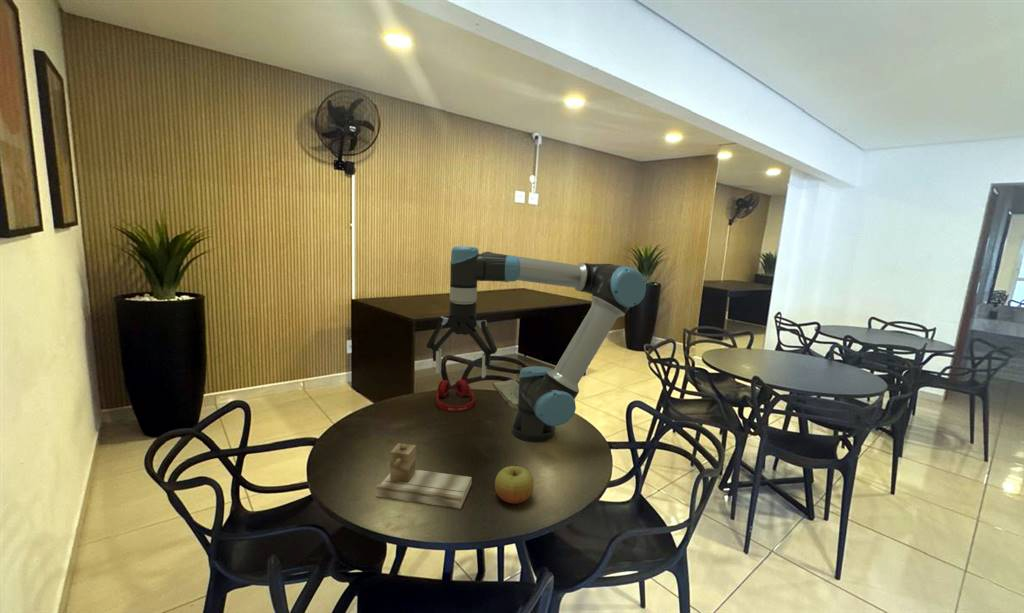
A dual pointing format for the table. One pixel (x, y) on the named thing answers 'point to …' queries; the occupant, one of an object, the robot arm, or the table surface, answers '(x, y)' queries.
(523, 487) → the apple
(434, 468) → the table surface
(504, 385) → the stone slab
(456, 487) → the board
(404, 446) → the beige wooden block
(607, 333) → the robot arm
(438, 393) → the headphones
